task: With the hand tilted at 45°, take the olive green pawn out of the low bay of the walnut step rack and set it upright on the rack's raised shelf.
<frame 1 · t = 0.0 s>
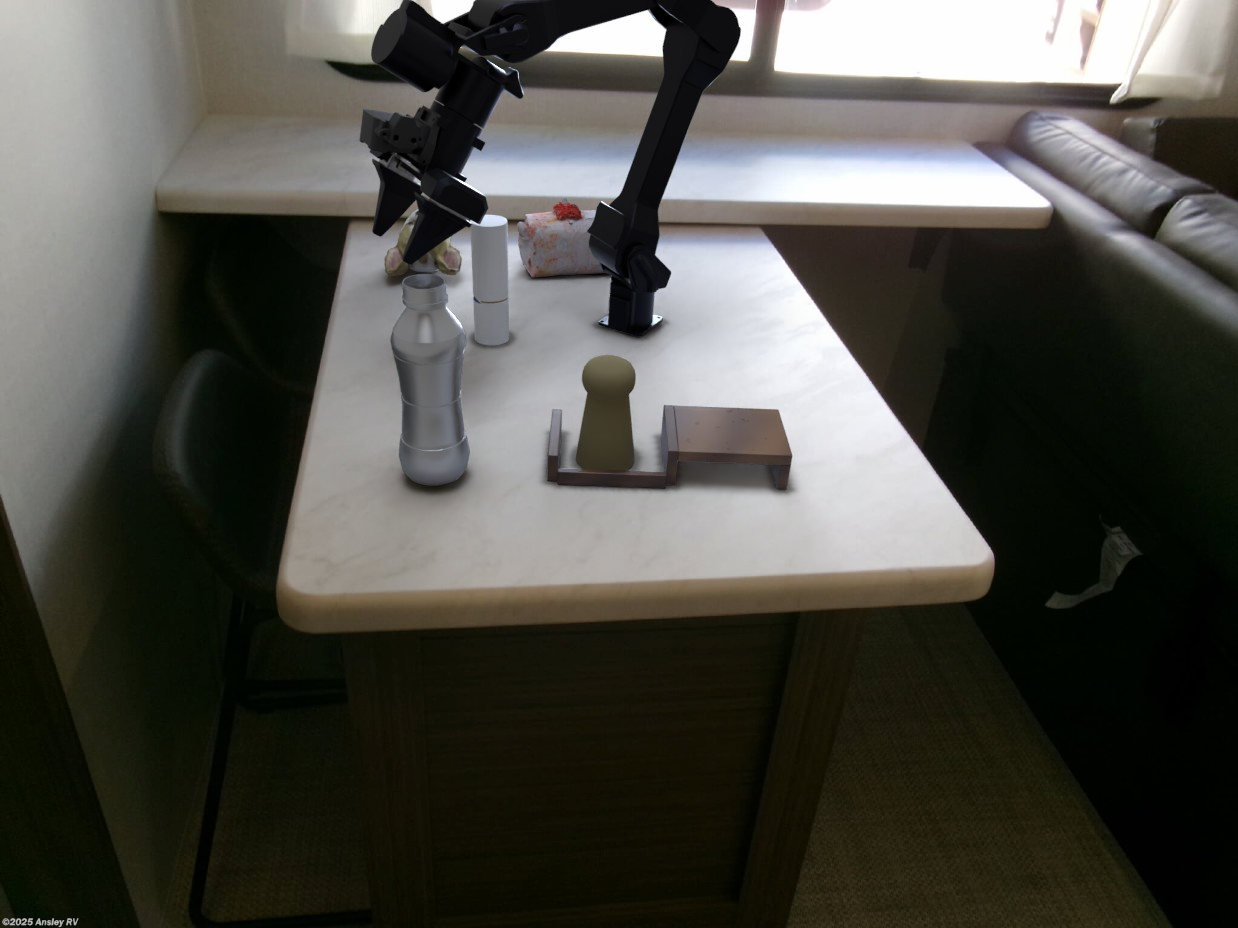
hand: (390, 248, 102), 15 cm above the table, tool tilted 35°, fingers open, 9 cm apart
tube: (492, 339, 119), on the table
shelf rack: (667, 460, 97), on the table
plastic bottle: (436, 477, 92), on the table
food item: (566, 270, 139), on the table
ceramic sculpture: (426, 270, 137), on the table
olive green pawn: (605, 459, 96), on the table
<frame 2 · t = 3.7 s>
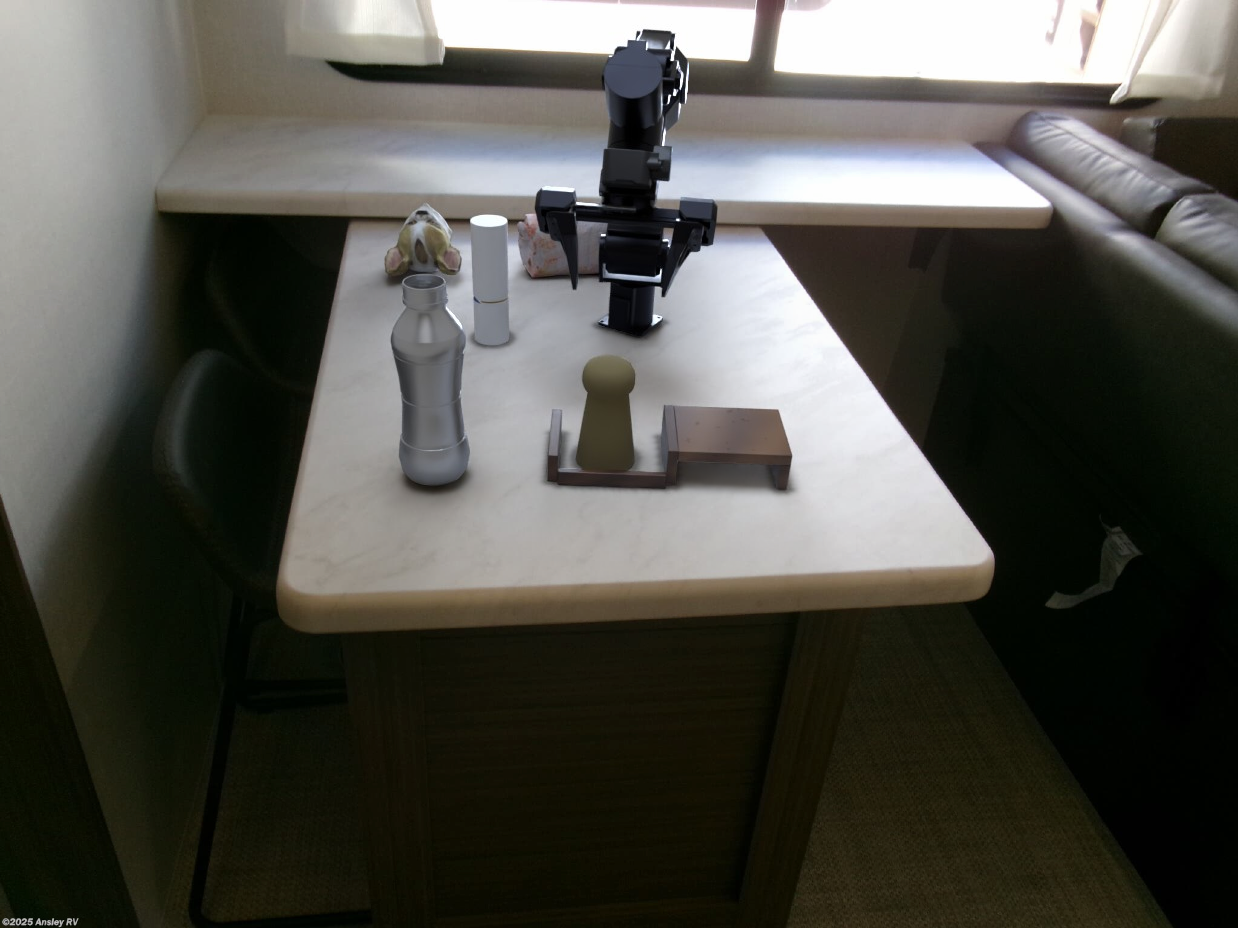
hand: (618, 292, 98), 14 cm above the table, tool tilted 45°, fingers open, 9 cm apart
nothing on the table moved.
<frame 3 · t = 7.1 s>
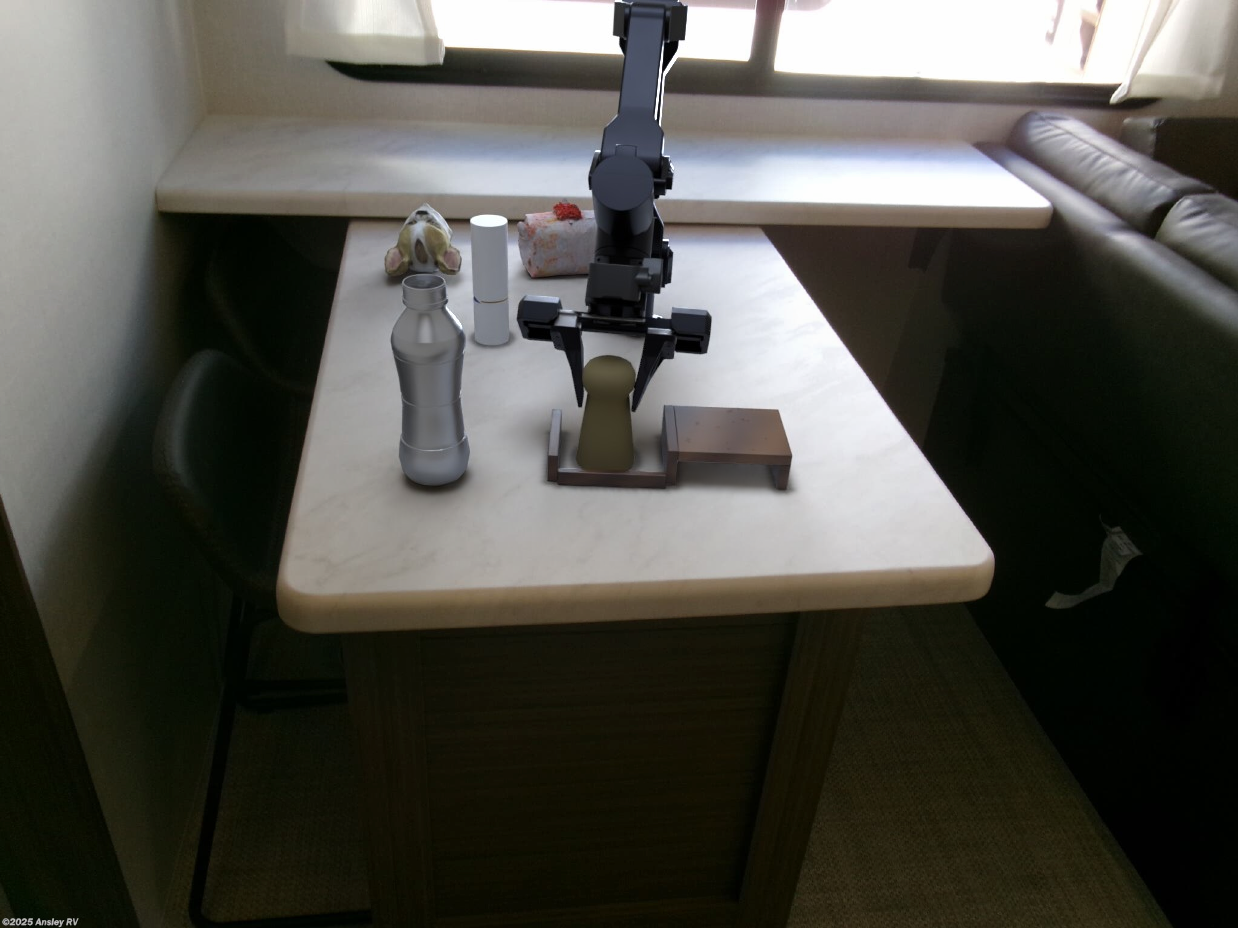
hand: (606, 408, 92), 7 cm above the table, tool tilted 45°, fingers closed on olive green pawn, 5 cm apart
olive green pawn: (605, 460, 96), on the table, touching gripper
everything else where it was.
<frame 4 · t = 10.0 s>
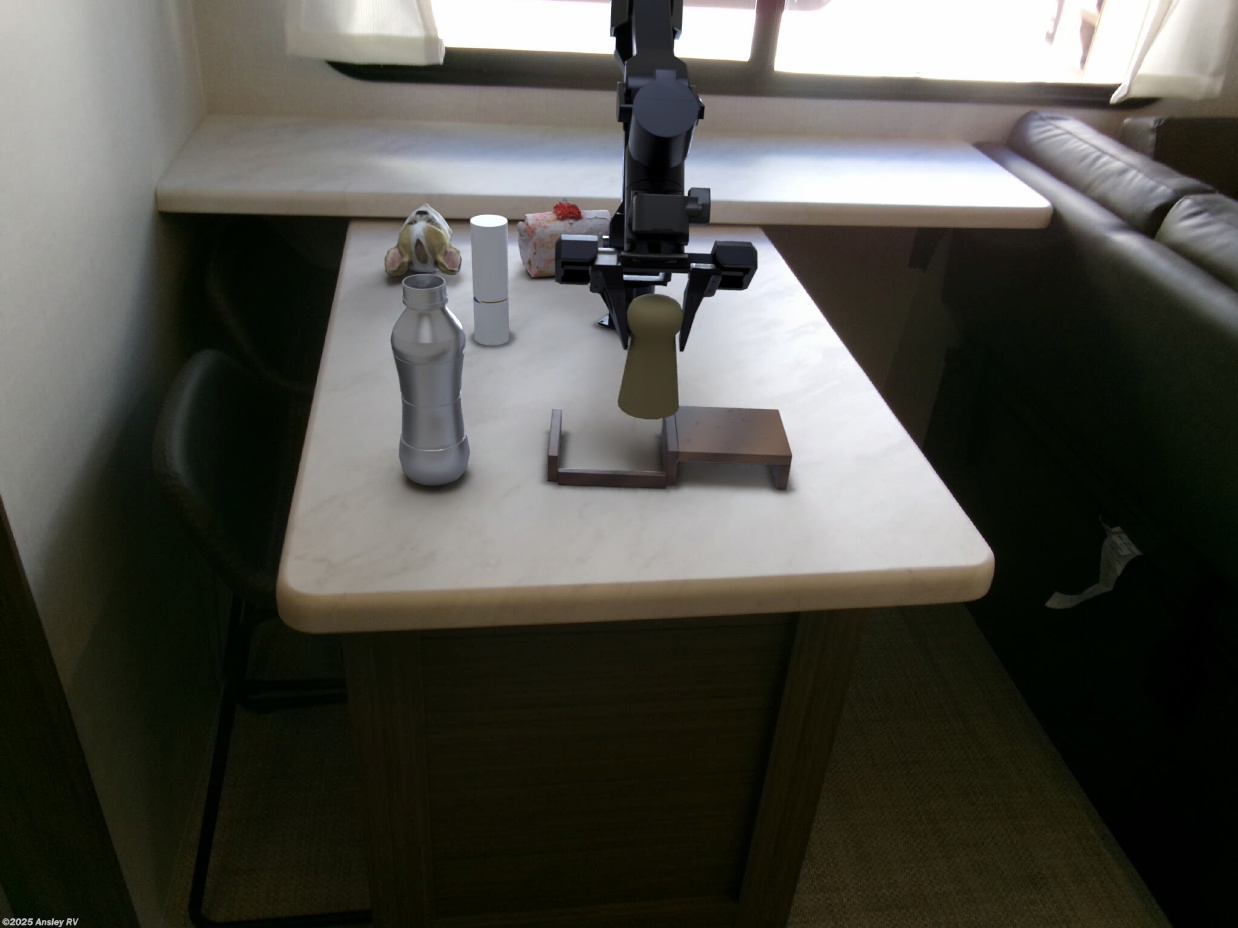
hand: (653, 349, 88), 13 cm above the table, tool tilted 45°, fingers closed on olive green pawn, 5 cm apart
olive green pawn: (648, 405, 93), point 6 cm above the table, touching gripper
everything else where it was.
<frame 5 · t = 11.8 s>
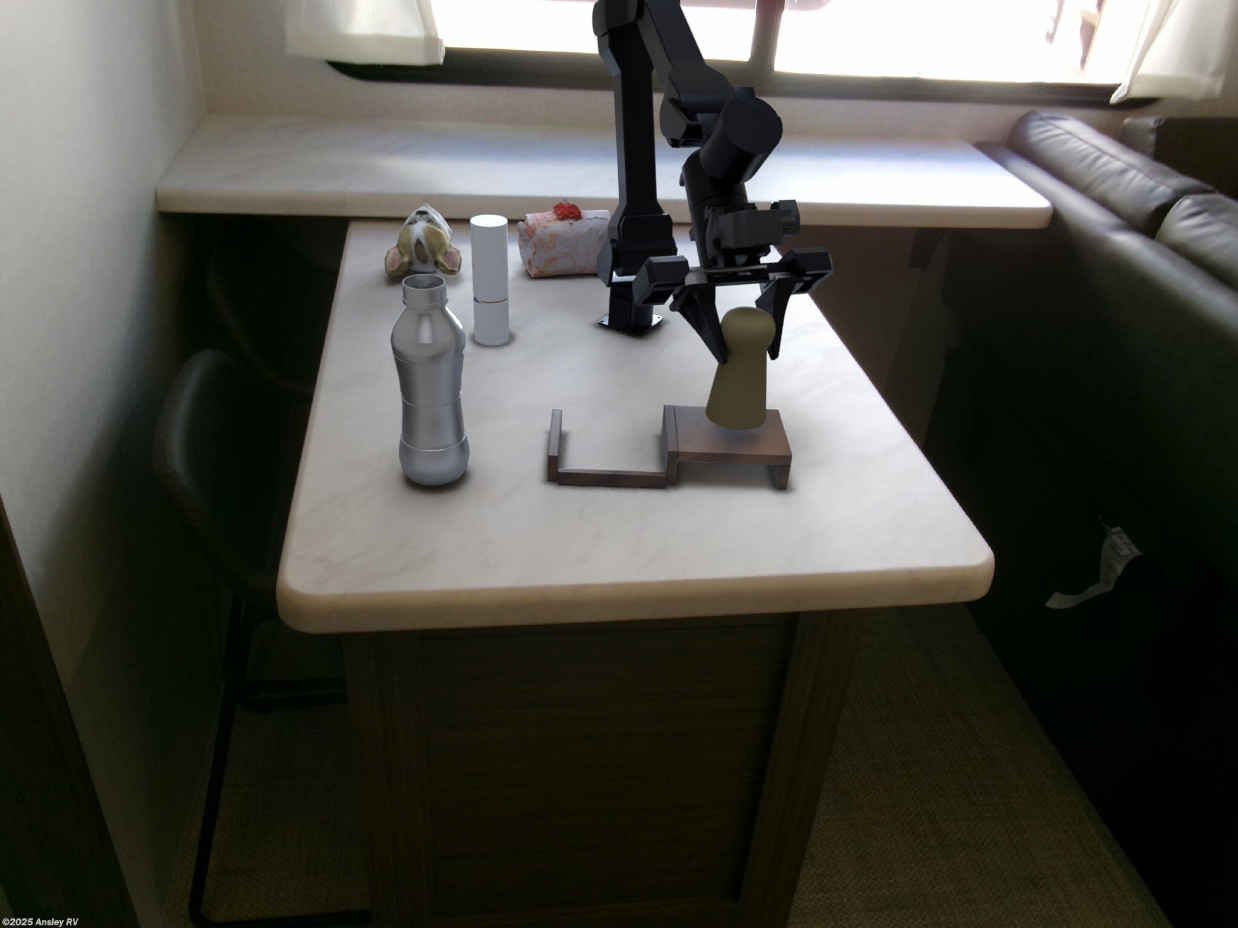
hand: (749, 361, 89), 12 cm above the table, tool tilted 45°, fingers closed on olive green pawn, 5 cm apart
olive green pawn: (735, 416, 94), point 5 cm above the table, touching gripper
everything else where it was.
when the fingers open (11 cm above the table, at t = 12.8 s): olive green pawn stays where it is, resting on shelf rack.
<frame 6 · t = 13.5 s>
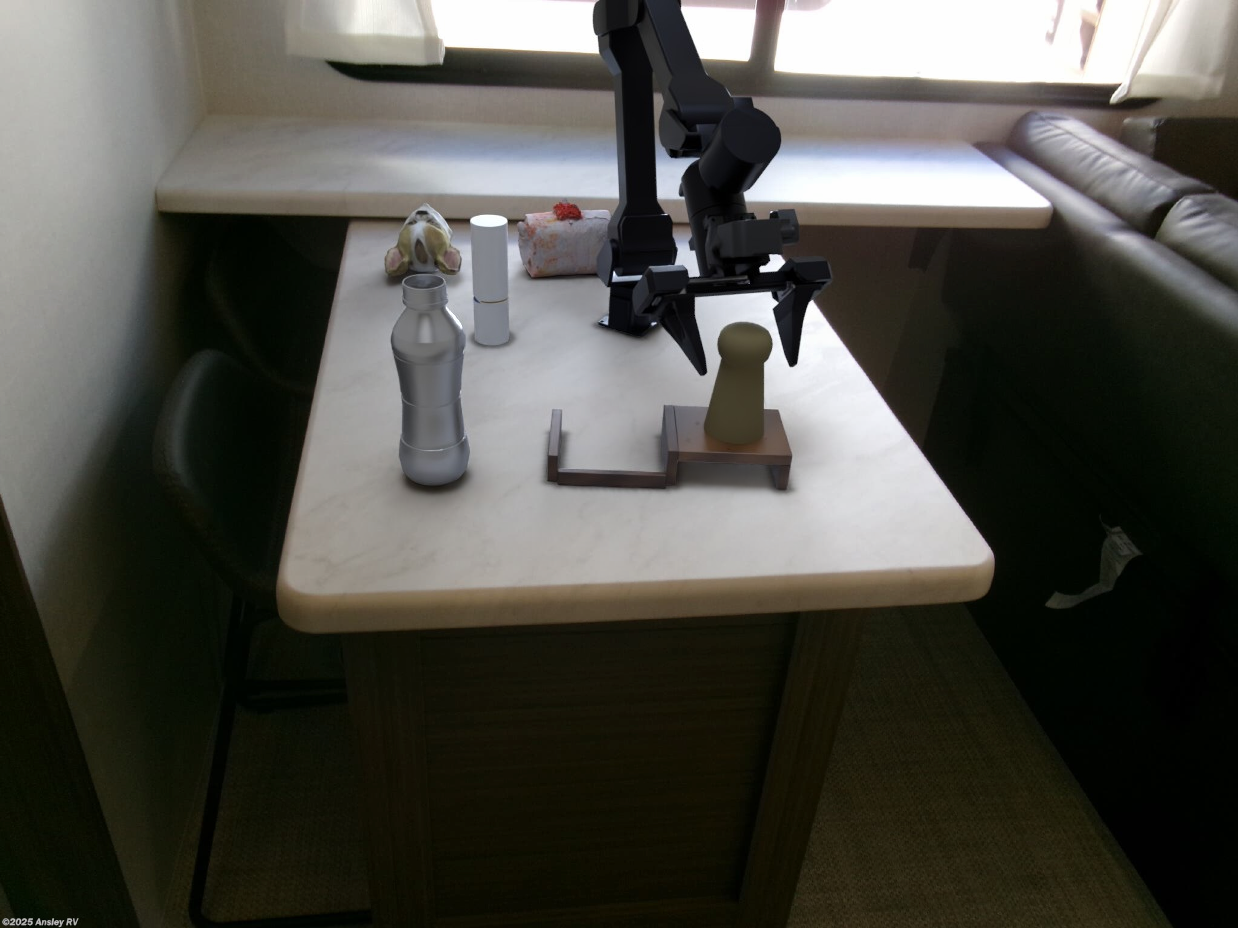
hand: (749, 370, 90), 11 cm above the table, tool tilted 45°, fingers open, 9 cm apart
olive green pawn: (733, 430, 95), point 4 cm above the table, touching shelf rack
everything else where it was.
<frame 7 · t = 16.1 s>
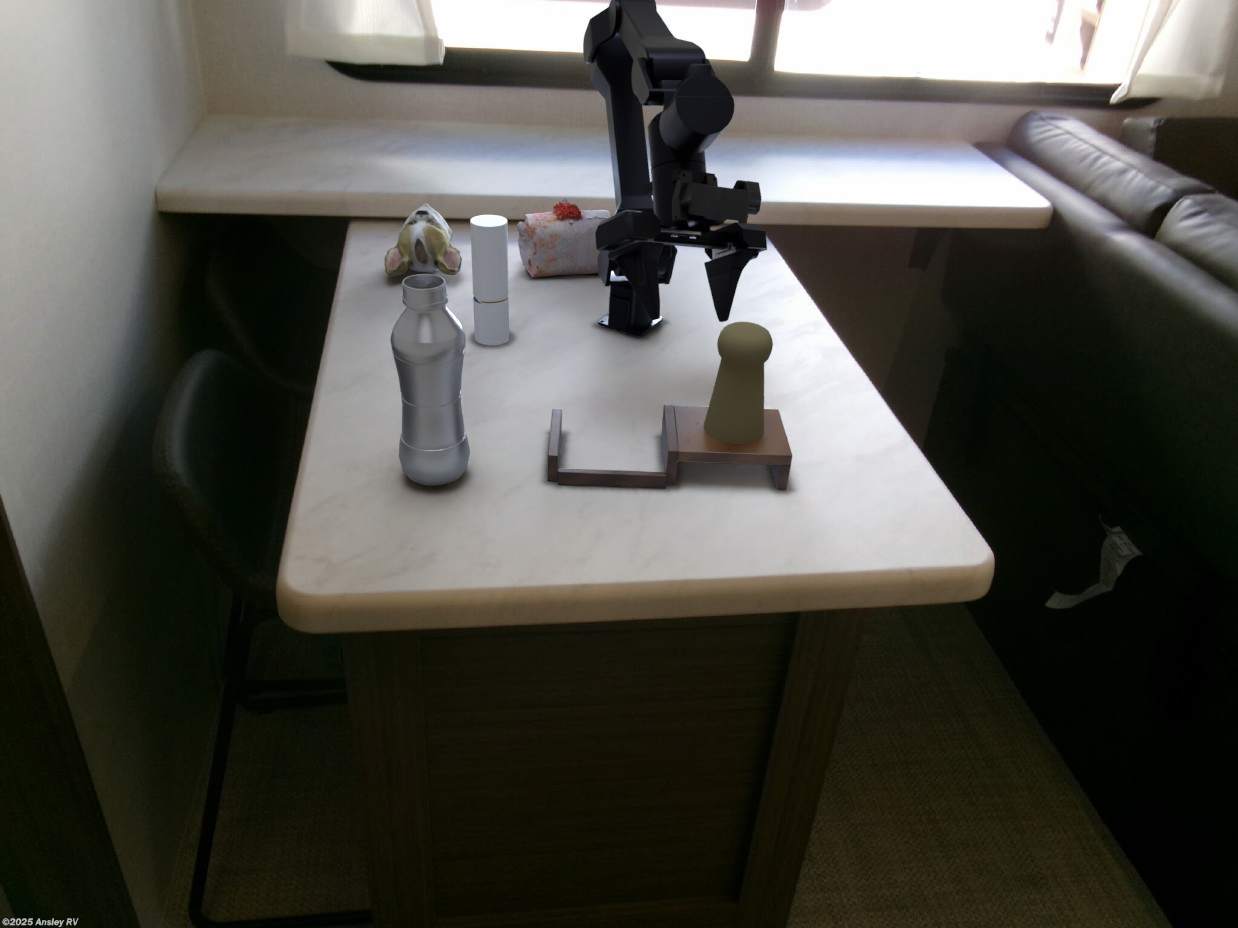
hand: (690, 320, 98), 12 cm above the table, tool tilted 35°, fingers open, 9 cm apart
nothing on the table moved.
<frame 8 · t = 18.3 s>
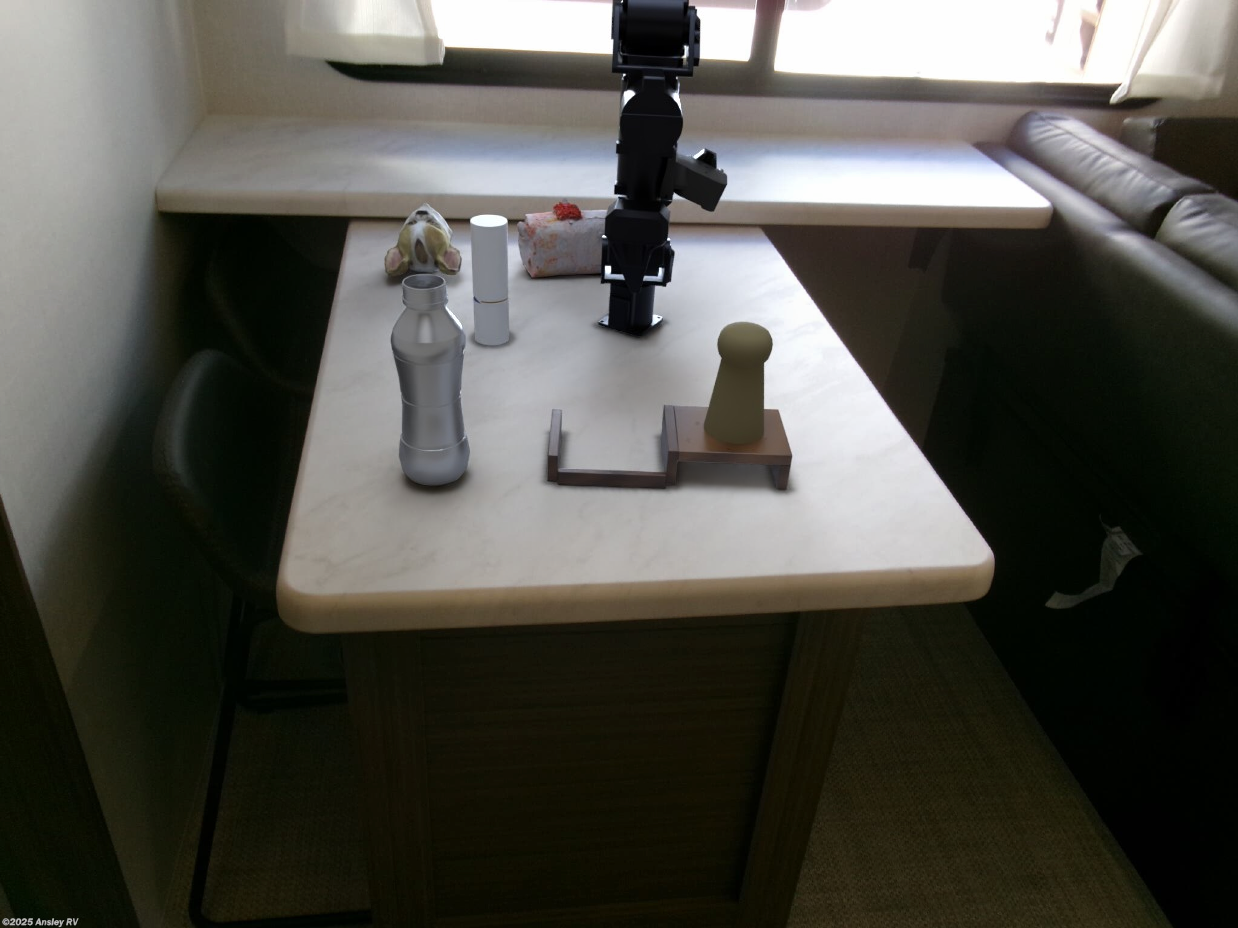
hand: (637, 276, 104), 13 cm above the table, tool pointing down, fingers open, 9 cm apart
nothing on the table moved.
at the end: olive green pawn 0.1 cm from the target spot, point 3.8 cm above the table; olive green pawn tilted 0°; the gripper is holding nothing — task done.
